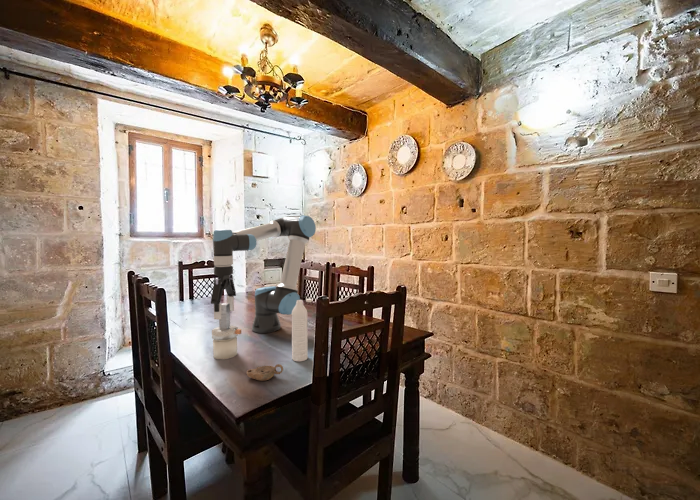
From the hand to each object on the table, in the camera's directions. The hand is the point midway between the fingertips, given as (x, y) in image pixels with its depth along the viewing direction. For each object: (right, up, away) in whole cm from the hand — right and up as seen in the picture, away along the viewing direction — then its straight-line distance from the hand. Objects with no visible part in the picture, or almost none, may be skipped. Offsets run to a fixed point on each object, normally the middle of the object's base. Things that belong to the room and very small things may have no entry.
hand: (224, 314), depth 133 cm
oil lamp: (+23, -19, -20) cm, 36 cm away
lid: (+1, -9, 0) cm, 9 cm away
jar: (0, -18, +1) cm, 18 cm away
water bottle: (+34, -18, -2) cm, 39 cm away
